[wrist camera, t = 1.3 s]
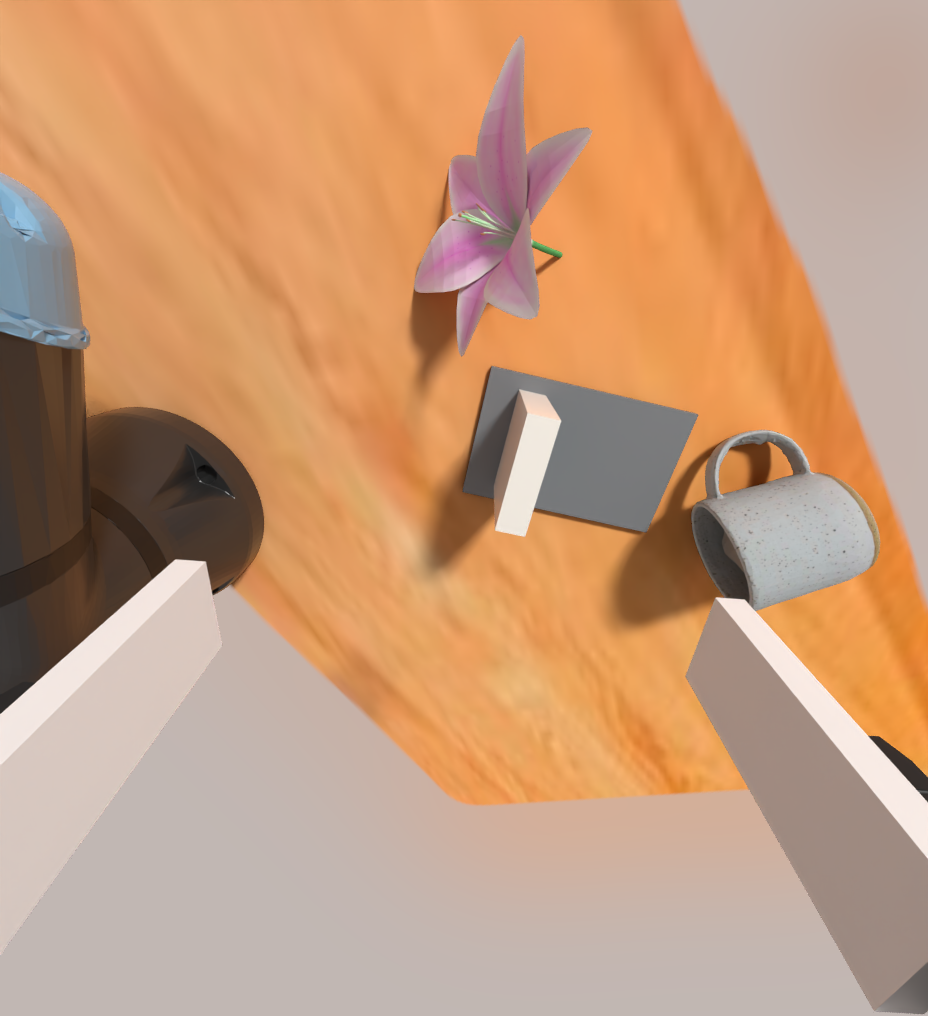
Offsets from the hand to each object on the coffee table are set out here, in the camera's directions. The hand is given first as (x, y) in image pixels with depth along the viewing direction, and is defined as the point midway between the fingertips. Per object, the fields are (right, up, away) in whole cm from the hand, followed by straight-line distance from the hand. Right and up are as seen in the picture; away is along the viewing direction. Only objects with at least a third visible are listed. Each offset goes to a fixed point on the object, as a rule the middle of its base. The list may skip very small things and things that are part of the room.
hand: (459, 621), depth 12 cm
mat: (+8, +7, +20) cm, 22 cm away
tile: (+4, +7, +19) cm, 21 cm away
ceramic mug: (+20, +4, +21) cm, 29 cm away
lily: (+2, +19, +15) cm, 24 cm away
